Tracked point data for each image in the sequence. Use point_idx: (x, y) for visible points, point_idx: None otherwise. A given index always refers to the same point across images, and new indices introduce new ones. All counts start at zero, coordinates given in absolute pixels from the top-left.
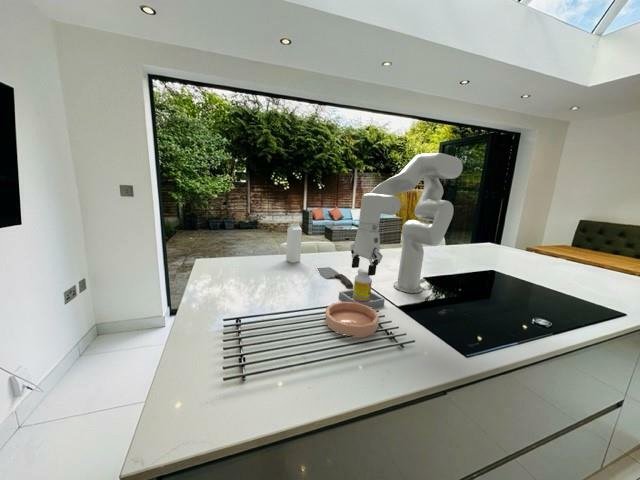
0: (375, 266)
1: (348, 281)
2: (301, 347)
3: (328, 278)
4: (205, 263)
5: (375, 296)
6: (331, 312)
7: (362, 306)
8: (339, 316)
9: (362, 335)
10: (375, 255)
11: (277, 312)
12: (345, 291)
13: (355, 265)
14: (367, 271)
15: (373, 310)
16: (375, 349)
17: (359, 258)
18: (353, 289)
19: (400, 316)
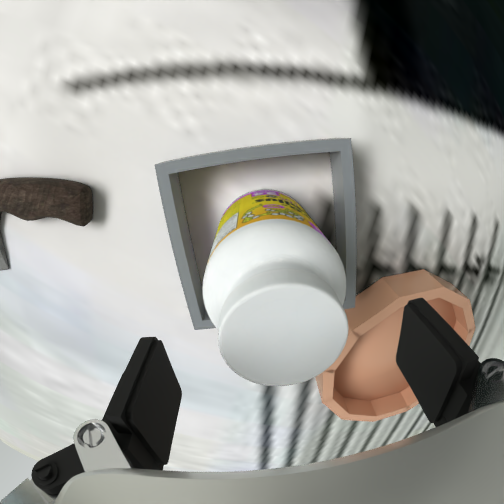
0: (477, 369)
1: (47, 200)
2: (397, 433)
3: (5, 259)
4: (19, 449)
5: (287, 155)
6: (335, 390)
7: (387, 313)
8: (363, 374)
9: None
10: (500, 454)
11: (260, 457)
12: (194, 301)
13: (168, 387)
14: (323, 326)
15: (435, 293)
16: (483, 330)
17: (132, 418)
18: (173, 245)
19: (438, 148)
